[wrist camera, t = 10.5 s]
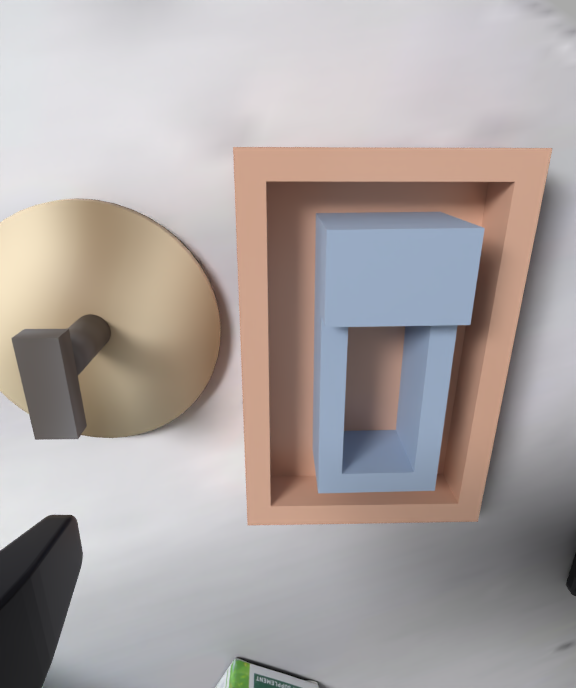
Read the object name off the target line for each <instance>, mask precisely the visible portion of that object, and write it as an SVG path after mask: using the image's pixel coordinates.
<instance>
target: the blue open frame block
mask: <svg viewBox="0 0 576 688" xmlns="http://www.w3.org/2000/svg"><path fill="white" fill-rule="evenodd" d="M484 229H485V228H483V227H481V226H478V225H475V224H472V223H470V222H467V221H464V220H462V219H459V218H456V217H453V216H451V215H448V214H445V213H442V212H365V213H316V237H315V309H314V381H313V456H314V464H315V472H316V480H317V488H318V493H356V492H399V491H435V486H436V478H437V471H438V464H439V456H440V449H441V442H442V434H443V427H444V420H445V413H446V405H447V398H448V391H449V383H450V376H451V369H452V361H453V354H454V347H455V340H456V332H457V325H470V324H471V317H472V310H473V304H474V297H475V290H476V283H477V277H478V270H479V263H480V256H481V250H482V243H483V236H484ZM378 326H405V336H404V346H403V357H402V368H401V379H400V390H399V401H398V411H397V422H396V430H362V431H344V414H345V390H346V367H347V344H348V327H378Z"/></svg>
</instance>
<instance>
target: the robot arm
mask: <svg viewBox="0 0 576 688" xmlns="http://www.w3.org/2000/svg"><path fill="white" fill-rule="evenodd" d="M82 558H83V552H82V546H81V540H80V534H79V528H78V523H77V520H76V518H75V517H74V516H72V515H50V516H47V517H46V518H44V519H43V520H41V521H40V522H39V523H37V524H36V525H35V526H33V527H32V528H30V529H29V530H28V531H26V532H25V533H24V534H22V535H21V536H20V537H18V538H17V539H16V540H14V541H13V542H11V543H10V544H9V545H7V546H6V547H5V548H3V549H2V550H1V551H0V688H42V686H43V683H44V681H45V678H46V676H47V673H48V670H49V668H50V665H51V663H52V660H53V657H54V653H55V650H56V647H57V644H58V641H59V638H60V634H61V631H62V628H63V624H64V621H65V618H66V615H67V611H68V608H69V605H70V602H71V598H72V595H73V592H74V588H75V585H76V582H77V579H78V575H79V572H80V569H81V565H82ZM566 586H567V588H568V589H569V591H570V592H571V594H572V595H574V596H576V554H575V557H574V560H573V564H572V567H571V570H570V573H569V576H568V580H567V583H566Z"/></svg>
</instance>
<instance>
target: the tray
mask: <svg viewBox="0 0 576 688" xmlns="http://www.w3.org/2000/svg"><path fill="white" fill-rule="evenodd" d="M551 153H552V148H328V147H233V154H234V181H235V207H236V233H237V259H238V285H239V311H240V338H241V364H242V390H243V416H244V442H245V468H246V495H247V521H248V525H296V524H358V523H420V522H478V518H479V513H480V508H481V503H482V498H483V493H484V488H485V483H486V478H487V473H488V468H489V463H490V458H491V453H492V448H493V443H494V438H495V433H496V428H497V423H498V418H499V413H500V408H501V403H502V398H503V393H504V388H505V383H506V378H507V373H508V368H509V363H510V358H511V353H512V348H513V343H514V338H515V333H516V328H517V323H518V318H519V313H520V308H521V303H522V298H523V293H524V288H525V283H526V278H527V273H528V268H529V263H530V258H531V253H532V248H533V243H534V238H535V233H536V228H537V223H538V218H539V213H540V208H541V203H542V198H543V193H544V188H545V183H546V178H547V173H548V168H549V163H550V158H551ZM365 212H442V213H445V214H448V215H451V216H453V217H456V218H459V219H462V220H464V221H467V222H470V223H472V224H475V225H478V226H481V227H483V228H485V229H484V236H483V243H482V250H481V256H480V263H479V270H478V277H477V283H476V290H475V297H474V304H473V310H472V317H471V324H470V325H457V332H456V340H455V347H454V354H453V361H452V369H451V376H450V383H449V391H448V398H447V405H446V413H445V420H444V427H443V434H442V442H441V449H440V456H439V464H438V471H437V478H436V486H435V491H399V492H356V493H318V488H317V480H316V472H315V464H314V456H313V381H314V309H315V237H316V213H365ZM404 336H405V326H378V327H348V344H347V367H346V390H345V414H344V431H362V430H396V422H397V411H398V401H399V390H400V379H401V368H402V357H403V346H404Z"/></svg>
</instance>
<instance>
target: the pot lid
mask: <svg viewBox="0 0 576 688" xmlns="http://www.w3.org/2000/svg"><path fill="white" fill-rule="evenodd" d="M220 339H221V323H220V315H219V309H218V305H217V301H216V298H215V294H214V292H213V289H212V287H211V284H210V282H209V280H208V278H207V276H206V274H205V273H204V271H203V269H202V267H201V266H200V264H199V263H198V262H197V260H196V259H195V258H194V256H193V255H192V253H191V252H190V251H189V250H188V249H187V248H186V247H185V246H184V245H183V244H182V243H181V242H180V241H179V239H178V238H176V237H175V236H174V235H173V234H171V233H170V232H169V231H168V230H167V229H165V228H164V227H163V226H161V225H160V224H158V223H156V222H155V221H153V220H152V219H150V218H149V217H147V216H145V215H142V214H140V213H138V212H136V211H134V210H132V209H129V208H126V207H123V206H120V205H117V204H114V203H109V202H104V201H99V200H92V199H64V200H57V201H52V202H47V203H43V204H38V205H35V206H32V207H29V208H26V209H24V210H21V211H19V212H17V213H15V214H13V215H12V216H10V217H8V218H6V219H5V220H3V221H2V222H1V223H0V391H1V392H2V393H3V394H4V395H5V396H6V397H7V398H8V399H9V400H10V401H12V402H13V403H14V404H15V405H17V406H18V407H19V408H21V409H22V410H23V411H25V412H27V413H28V414H29V415H30V419H31V424H32V428H33V432H34V436H35V439H78V438H79V437H80V435H85V436H91V437H103V438H115V437H127V436H133V435H138V434H142V433H145V432H148V431H152V430H155V429H157V428H159V427H161V426H163V425H166V424H167V423H169V422H171V421H172V420H174V419H175V418H177V417H179V416H180V415H181V414H182V413H183V412H185V411H186V410H187V409H188V408H189V407H190V406H191V405H192V404H193V403H194V402H195V401H196V400H197V399H198V398H199V396H200V395H201V393H202V392H203V390H204V389H205V387H206V386H207V383H208V381H209V379H210V377H211V375H212V373H213V370H214V367H215V363H216V360H217V357H218V352H219V346H220Z"/></svg>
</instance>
